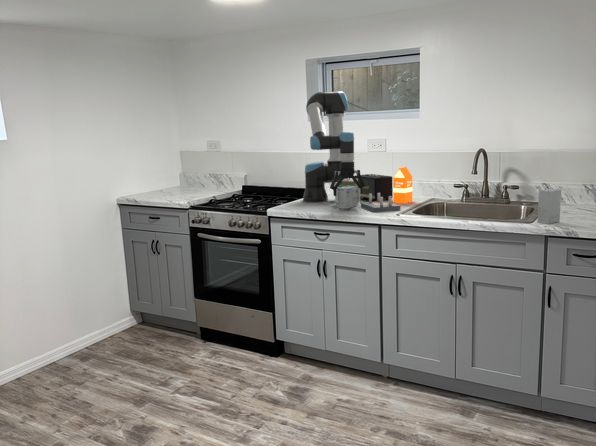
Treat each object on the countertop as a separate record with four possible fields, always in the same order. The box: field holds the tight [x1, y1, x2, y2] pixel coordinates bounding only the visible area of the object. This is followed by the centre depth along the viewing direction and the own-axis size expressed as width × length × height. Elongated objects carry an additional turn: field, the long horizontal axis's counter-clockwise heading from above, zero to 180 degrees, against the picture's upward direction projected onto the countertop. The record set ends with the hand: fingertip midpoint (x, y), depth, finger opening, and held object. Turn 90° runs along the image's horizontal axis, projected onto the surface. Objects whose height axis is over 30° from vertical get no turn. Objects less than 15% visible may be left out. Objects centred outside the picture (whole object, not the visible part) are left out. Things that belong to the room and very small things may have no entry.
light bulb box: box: [336, 186, 359, 209], centre depth 299 cm, size 11×7×11 cm, turn 136°
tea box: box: [338, 178, 358, 208], centre depth 316 cm, size 15×10×15 cm
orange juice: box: [392, 166, 413, 204], centre depth 319 cm, size 8×9×20 cm
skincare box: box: [537, 187, 562, 225], centre depth 246 cm, size 8×6×15 cm
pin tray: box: [360, 193, 401, 213], centre depth 300 cm, size 19×15×8 cm
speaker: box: [354, 173, 394, 202], centre depth 334 cm, size 22×13×15 cm, turn 28°
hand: (347, 201), depth 300 cm, fingers closed on light bulb box, 12 cm apart
